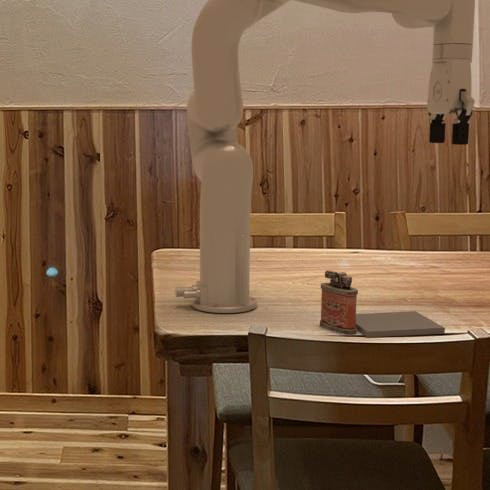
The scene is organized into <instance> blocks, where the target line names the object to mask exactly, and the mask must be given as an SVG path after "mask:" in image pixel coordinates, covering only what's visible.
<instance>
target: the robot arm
mask: <svg viewBox="0 0 490 490" xmlns="http://www.w3.org/2000/svg"><path fill="white" fill-rule="evenodd" d="M289 1H291V0H207V1H206V2H205V3H204V5H203V7H202V9H200V12H199V13H198V16H197V18H196V21H195V22H194V26H193V30H192V37H191V63H192V79H193V91H192V92H191V94H190V96H189V98H188V102H187V105H186V106H187V107H186V108H187V109H186V117H187V118H186V119H187V128H188V129H187V130H188V138H189V148H190V155H191V162H192V168H193V170H194V171H193V172H194V173H195V176H196V177H197V178H198V179H199V182H200V183H201V184H200V185H201V186H200V198H199V199H200V200H199V201H200V202H199V280H196V284H191V286H175V289H174V293H175V297H176V298H179V297H180V298H182V297H183V299H191V298H192V299H191V307H192V308H193V309H195V310H197V311H200V312H207V313H214V314H235V313H237V314H238V313H243V312H249V311H251V310H252V311H253V310H255V309H256V308H257V307H258V300H257V298H255V297H253V296H251V295H250V282H251V281H250V277H251V276H250V274H251V273H250V267H251V264H250V263H251V262H250V261H251V260H250V259H251V253H250V251H251V202H252V201H251V200H252V192H253V190H252V189H253V183H254V181H253V180H254V165H253V160H252V158H251V155H250V154H249V151H248V150H247V149H246V148H245V147H244V146H243V145H241V144H240V143H239V142H238V136H237V127H238V125H239V124H240V122H241V120H242V118H243V115H244V102H243V101H244V100H243V95H242V85H241V77H240V68H239V67H240V65H239V46H240V42H241V38H242V35H243V33H244V32H245V31H246V30H248V29H249V28H251V27H252V26H254V25H255V24H256V23H258V21H261V20H262V19H264V18H265V17H267V16H268V15H271V14H272V13H273V12H275V11H277V10H279V8H281V7H283V6H284V5H286V4H287V3H288V2H289ZM293 1H295V2H299V3H302V4H309V5H312V6H317V7H320V8H324V9H328V10H332V11H336V12H338V13H339V12H340V13H345V14H346V13H349V14H361V13H363V14H364V13H387V14H391V16H392V18H393V20H394V21H395V23H396V24H397V25H399V26H400V27H402V28H405V29H409V30H410V29H422V28H433V38H432V39H433V41H432V62H431V63H432V66H431V70H430V73H429V74H430V76H429V81H428V91H427V93H428V94H427V103H426V104H427V105H426V110H427V113H428V116H429V118H428V123H429V136H428V137H429V139H428V142H429V143H430V144H444V143H445V141H446V123H444V122H445V119H446V117H447V115H448V114H450V115H451V114H452V118H453V121H454V123H453V122H452V128H451V144H452V145H457V146H459V145H461V146H462V145H464V146H466V145H467V146H468V144H469V135H470V133H469V132H470V124H471V121H472V119H471V117H472V115H473V112H474V111H473V109H474V107H475V103H476V102H475V99H474V98H473V97H472V67H471V66H472V64H471V63H473V47H474V30H475V29H474V28H475V11H476V10H475V8H476V0H293Z"/></svg>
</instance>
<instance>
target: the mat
mask: <svg viewBox="0 0 490 490" xmlns="http://www.w3.org/2000/svg"><path fill="white" fill-rule="evenodd" d="M356 328H357V331H358V332H359V333H360V334H361V335H363V336H364V337H366V338H381V337H382V338H384V337H402V336H420V335H421V336H423V335H439V334H440V335H441V334H446V331H445V330H446V327H444V326H443V325H442V324H439V323H437V322H435V321H434V320H432V319H430V318H428V316H427V317H426V316H425V315H424V314H421V313H419V312H418V311H415V310H409V311H390V312H389V311H388V312H369V313H368V312H366V313H356Z"/></svg>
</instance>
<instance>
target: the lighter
mask: <svg viewBox="0 0 490 490" xmlns="http://www.w3.org/2000/svg"><path fill="white" fill-rule="evenodd" d="M324 279H329V282H321V283H320V290H321V297H320V298H321V303H320V305H321V307H320V308H321V309H320V320H319V327H320V328H323V329H325V330H327V331H331V332H333V333H337V334H342V335H346V336H352V335H356V334H357V333H358V332H357V328H356V314H357V296H358V295H359V289H357V288H355V287H352V283H353V276H351V275H347V273H346V271H340V272H338V271H334V270H330V269H329V270H328V269H327V270H325V271H324Z"/></svg>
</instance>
